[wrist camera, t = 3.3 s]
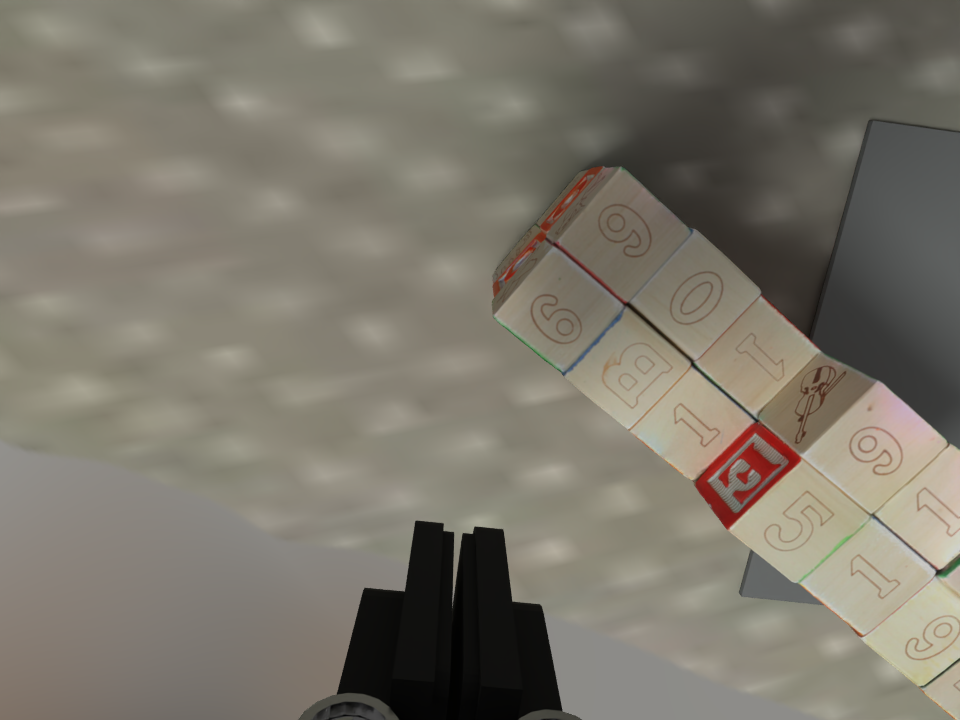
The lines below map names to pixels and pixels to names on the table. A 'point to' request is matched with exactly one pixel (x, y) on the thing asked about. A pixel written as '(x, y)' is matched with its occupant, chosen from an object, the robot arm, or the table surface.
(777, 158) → the table surface
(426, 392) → the table surface
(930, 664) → the stack of blocks
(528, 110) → the table surface
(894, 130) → the mat
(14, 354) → the table surface
